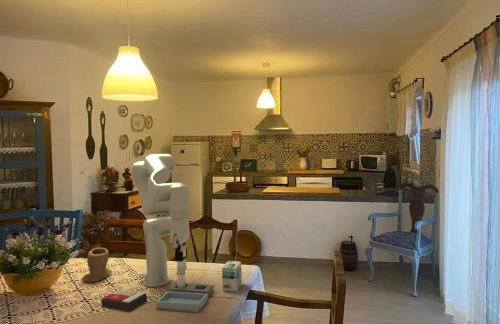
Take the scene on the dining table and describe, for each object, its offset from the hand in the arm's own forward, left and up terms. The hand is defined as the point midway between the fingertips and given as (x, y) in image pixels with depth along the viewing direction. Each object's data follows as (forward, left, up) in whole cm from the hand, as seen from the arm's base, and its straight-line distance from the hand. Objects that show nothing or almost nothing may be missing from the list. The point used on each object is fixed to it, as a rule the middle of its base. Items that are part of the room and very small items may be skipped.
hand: (181, 259), depth 160 cm
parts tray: (0, 0, -19) cm, 19 cm away
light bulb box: (+15, +22, -19) cm, 33 cm away
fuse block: (-1, +12, -19) cm, 23 cm away
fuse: (-6, +12, -19) cm, 23 cm away
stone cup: (-54, +23, -19) cm, 62 cm away
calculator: (-25, -3, -20) cm, 32 cm away
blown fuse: (0, 0, -4) cm, 4 cm away
